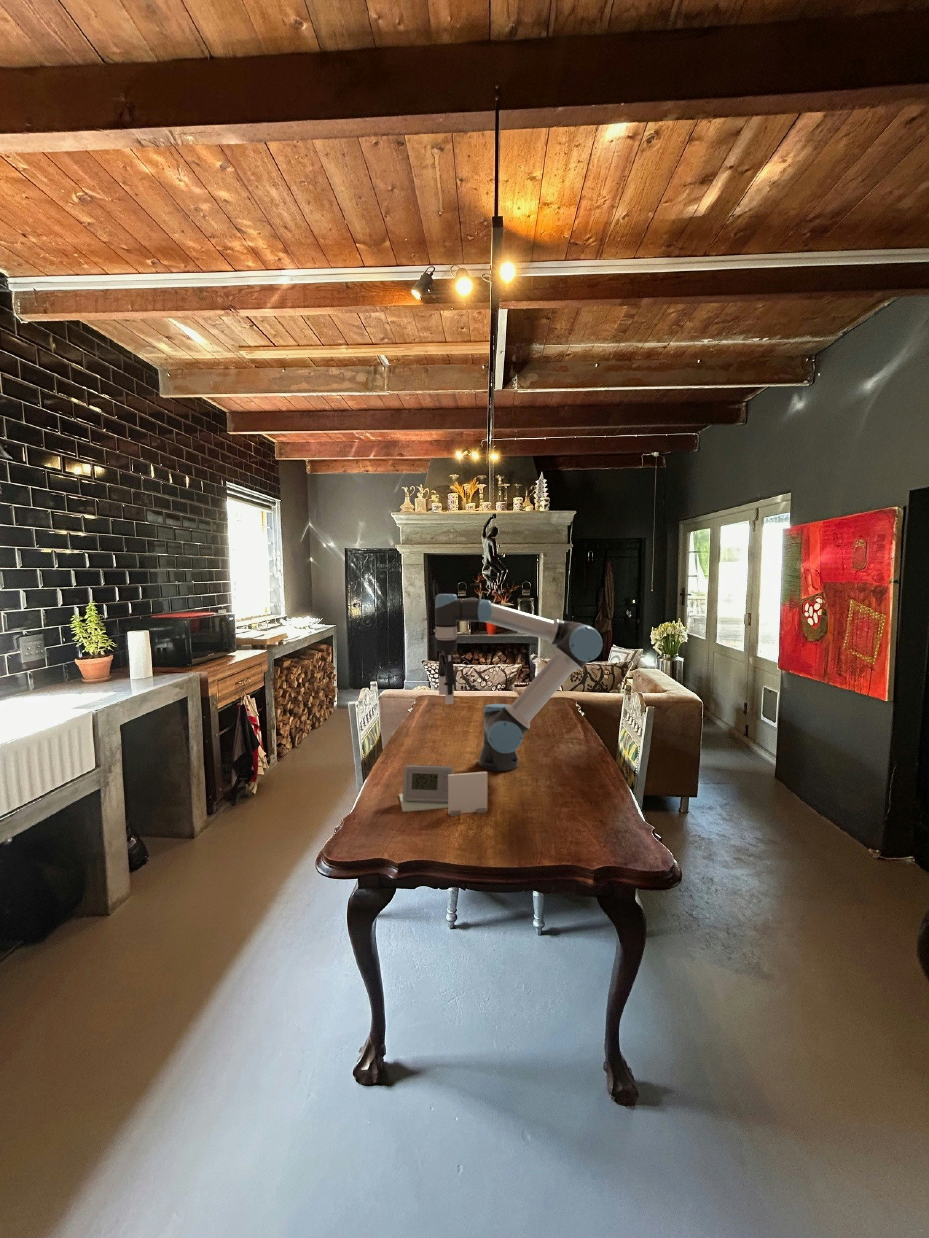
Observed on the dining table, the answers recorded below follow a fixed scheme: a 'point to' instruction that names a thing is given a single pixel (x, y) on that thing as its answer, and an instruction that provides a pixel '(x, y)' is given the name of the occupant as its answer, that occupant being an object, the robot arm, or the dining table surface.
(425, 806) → the mat
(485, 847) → the dining table surface
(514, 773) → the dining table surface
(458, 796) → the screen
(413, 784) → the digital clock
